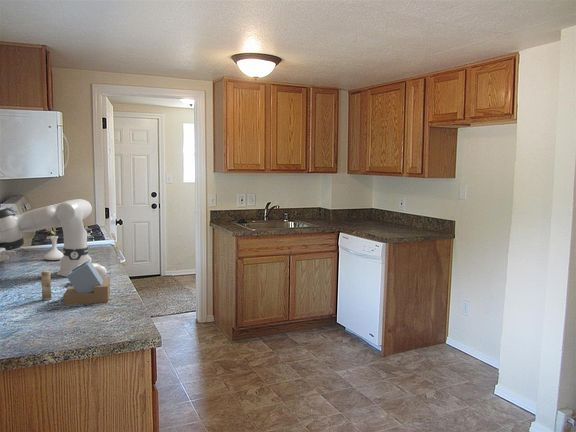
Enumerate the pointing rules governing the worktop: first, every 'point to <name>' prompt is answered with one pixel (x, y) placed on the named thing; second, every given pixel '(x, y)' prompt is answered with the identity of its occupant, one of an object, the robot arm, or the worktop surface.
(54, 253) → the flower in vase
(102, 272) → the lightbulb
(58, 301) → the worktop surface
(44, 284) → the peg
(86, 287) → the socket
